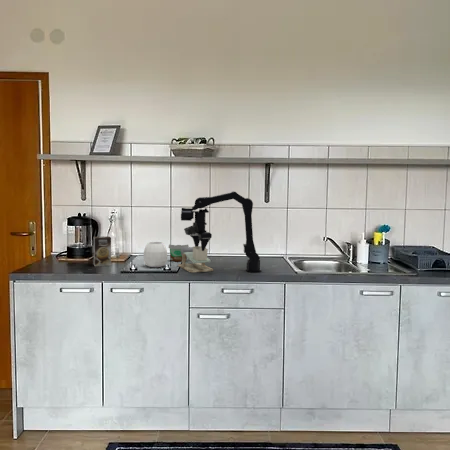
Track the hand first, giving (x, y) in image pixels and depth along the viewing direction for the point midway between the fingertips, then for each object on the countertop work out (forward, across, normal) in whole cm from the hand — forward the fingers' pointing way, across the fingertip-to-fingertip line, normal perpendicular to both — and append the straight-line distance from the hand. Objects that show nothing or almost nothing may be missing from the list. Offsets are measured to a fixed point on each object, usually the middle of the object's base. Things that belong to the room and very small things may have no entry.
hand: (199, 249), depth 256 cm
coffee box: (+12, -32, -46) cm, 57 cm away
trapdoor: (+7, -6, 0) cm, 9 cm away
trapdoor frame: (+12, -6, 0) cm, 13 cm away
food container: (+12, -30, -1) cm, 32 cm away
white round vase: (+12, -19, -19) cm, 29 cm away
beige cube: (+5, 0, 0) cm, 5 cm away
